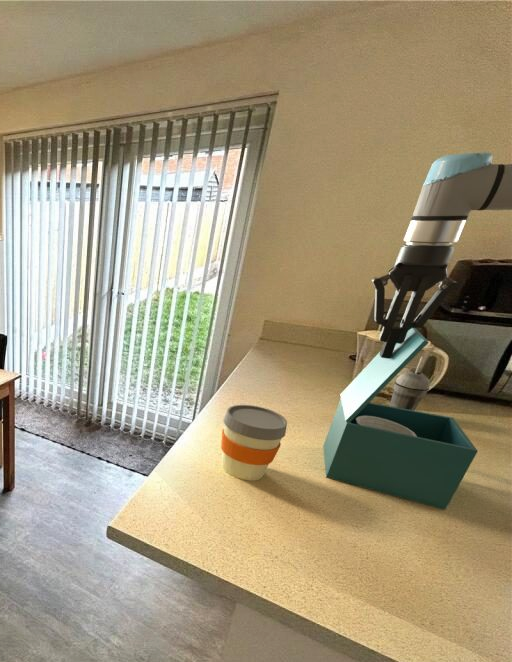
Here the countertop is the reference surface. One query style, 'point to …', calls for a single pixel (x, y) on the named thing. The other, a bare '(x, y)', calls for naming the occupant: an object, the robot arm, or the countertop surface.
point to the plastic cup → (383, 424)
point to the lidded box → (400, 454)
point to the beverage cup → (410, 389)
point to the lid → (380, 374)
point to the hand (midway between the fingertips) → (384, 356)
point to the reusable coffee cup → (250, 440)
